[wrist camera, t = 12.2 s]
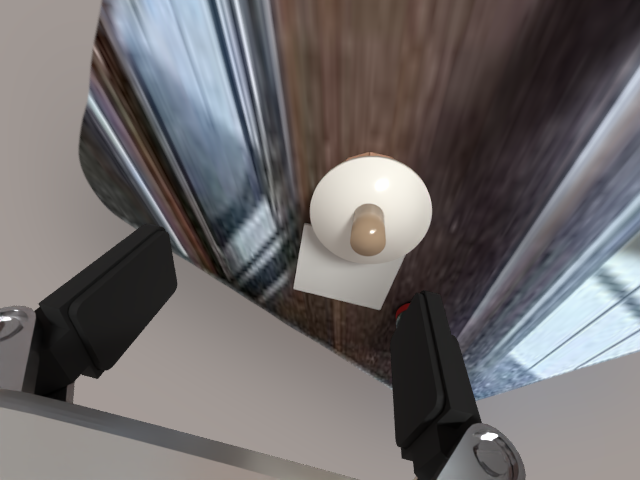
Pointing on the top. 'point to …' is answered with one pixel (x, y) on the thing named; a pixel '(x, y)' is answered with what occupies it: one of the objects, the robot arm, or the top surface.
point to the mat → (342, 274)
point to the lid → (370, 210)
